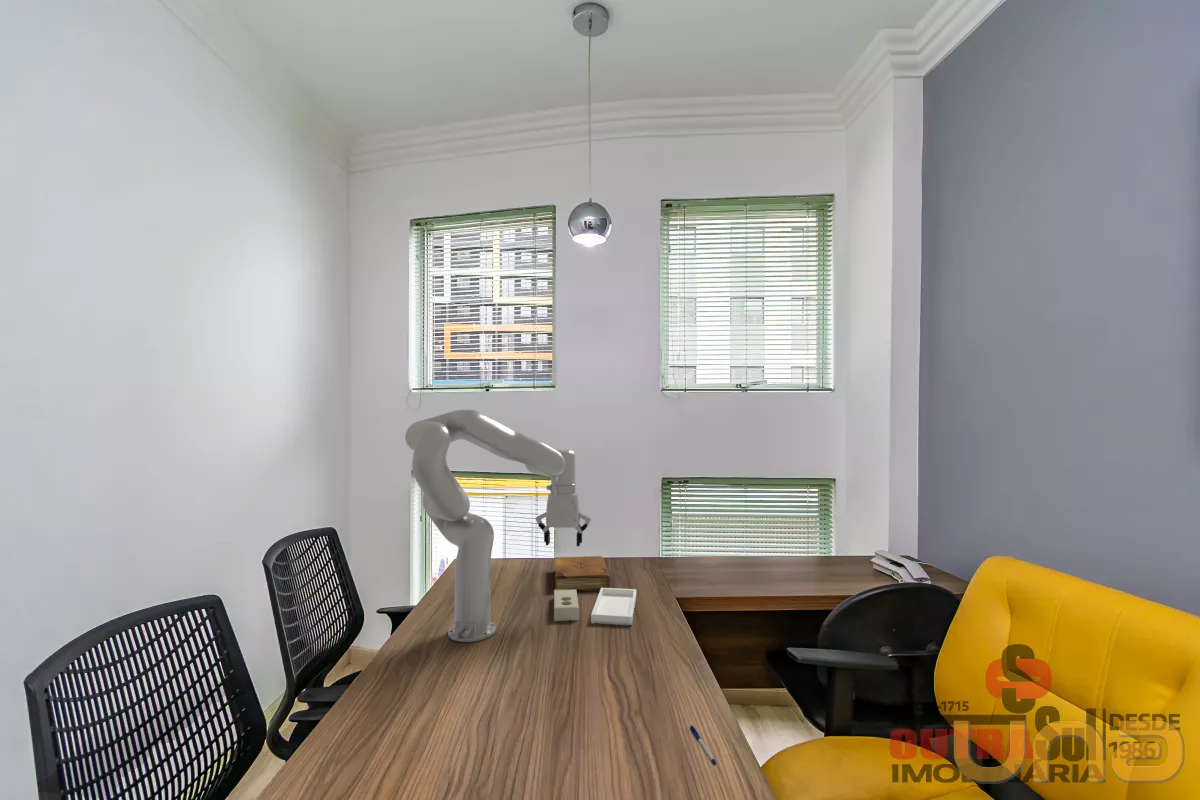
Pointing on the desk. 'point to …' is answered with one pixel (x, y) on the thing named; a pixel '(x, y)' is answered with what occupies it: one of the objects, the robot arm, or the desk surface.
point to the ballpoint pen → (702, 744)
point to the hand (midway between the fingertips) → (563, 544)
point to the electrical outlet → (566, 605)
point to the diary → (581, 573)
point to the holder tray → (614, 606)
